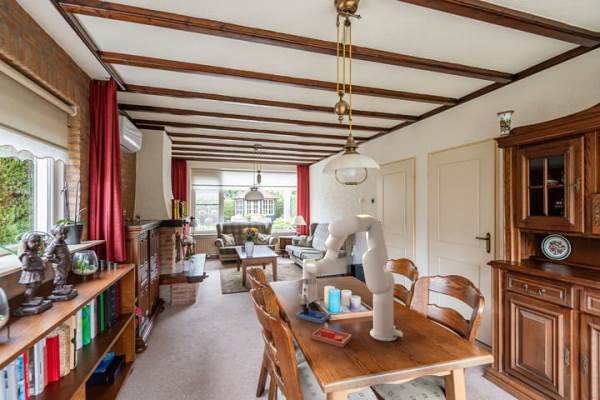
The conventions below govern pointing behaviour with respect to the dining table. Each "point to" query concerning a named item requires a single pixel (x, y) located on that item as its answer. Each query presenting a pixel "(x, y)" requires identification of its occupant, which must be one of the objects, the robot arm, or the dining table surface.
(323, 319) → the blue tray
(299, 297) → the ceramic sculpture
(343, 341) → the rose tray
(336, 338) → the red spoon
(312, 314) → the blue spoon
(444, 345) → the dining table surface
